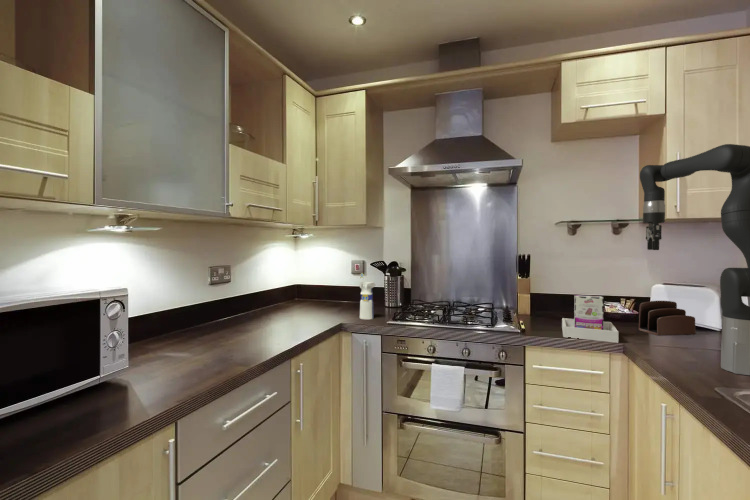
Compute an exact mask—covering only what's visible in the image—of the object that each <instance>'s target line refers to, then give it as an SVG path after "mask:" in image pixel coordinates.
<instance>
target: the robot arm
mask: <svg viewBox="0 0 750 500" xmlns="http://www.w3.org/2000/svg"><path fill="white" fill-rule="evenodd" d="M701 171H702V172H703V171H704V172H705V171H714V172H715V171H717V172H720V173H727V174H730V178H731V190H730V193H729V195H728V196H727V197H726V199H725V201H723V202H724V203H723V205H722V207H721V209H720V220H721V228H722V232H723V233H724V235H725V236H726V237H727V238H728V239H729V240H730V241H731V243H733V244H734V245H735V246H736V247H737V248H738V249H739V251H740V252H741V253H742V255H743V257H744V259H745V262H746V263H745V264H746V267H727V268H725V269H723V270H722V272H721V273H720V274H721V275H720V277H719V287H720V306H721V342H720V343H721V345H720V346H721V347H720V368H721V369H723V370H725V371H727V372H731V373H733V374H736V375H746V376H750V306H749V305H747V304H746V303H744V301H743V298H744V297H745V298H747V297H748V298H750V146H749V145H742V144H735V143H734V144H733V143H727V144H726V143H725V144H722V145H718V146H716V147H713V148H711V149H708V150H706V151H704V152H701V153H698V154H695V155H693V156H689V157H686V158H681V159H676V160H673V161H668V162H666V163H664V164H647V165H644V166H643V167H642V168H641V170H640V171H639V181H640V184H641V187H642V191H643V206H642V223H643V224H648V225H647V226H646V227H645V230H646V231H645V240H646V241H647V243H646V244H647V245H646V246H647V247H646V249H647V250H648V251H659V250H660V241H661V240H662V239H663V238H662V224H663V223H665V222H666V201H665V199H666V198H665V197H666V195H665V194H666V192H665V191H666V190H665V188H664V187H661V186H658V185H657V183H661V182H662V183H663V182H667V181H670V180H673V179H674V180H675V179H681V178H685V177H688V176H692V175H693V174H695V173H696V172H701Z"/></svg>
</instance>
